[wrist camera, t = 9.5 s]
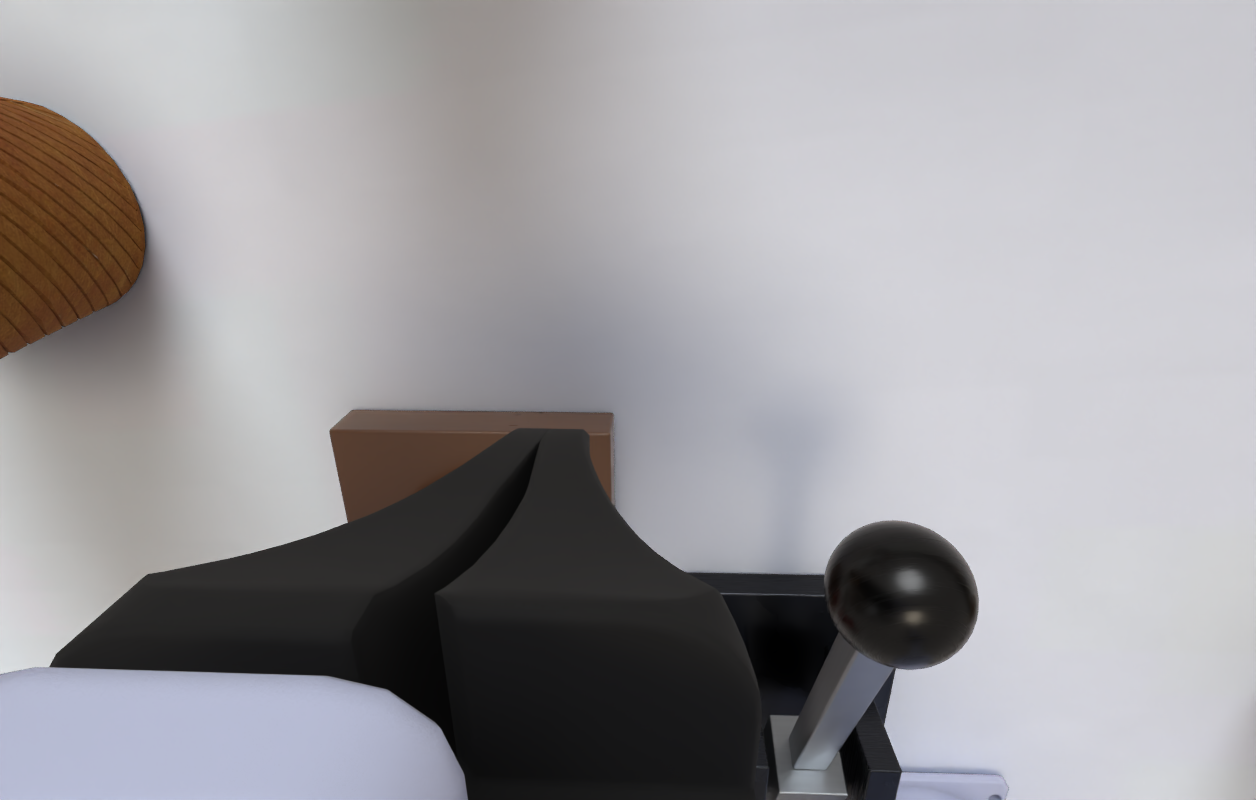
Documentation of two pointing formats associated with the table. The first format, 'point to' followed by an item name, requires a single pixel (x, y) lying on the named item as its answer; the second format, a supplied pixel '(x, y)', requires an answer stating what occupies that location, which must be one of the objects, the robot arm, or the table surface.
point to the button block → (440, 449)
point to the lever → (871, 645)
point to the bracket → (803, 671)
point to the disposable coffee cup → (60, 225)
